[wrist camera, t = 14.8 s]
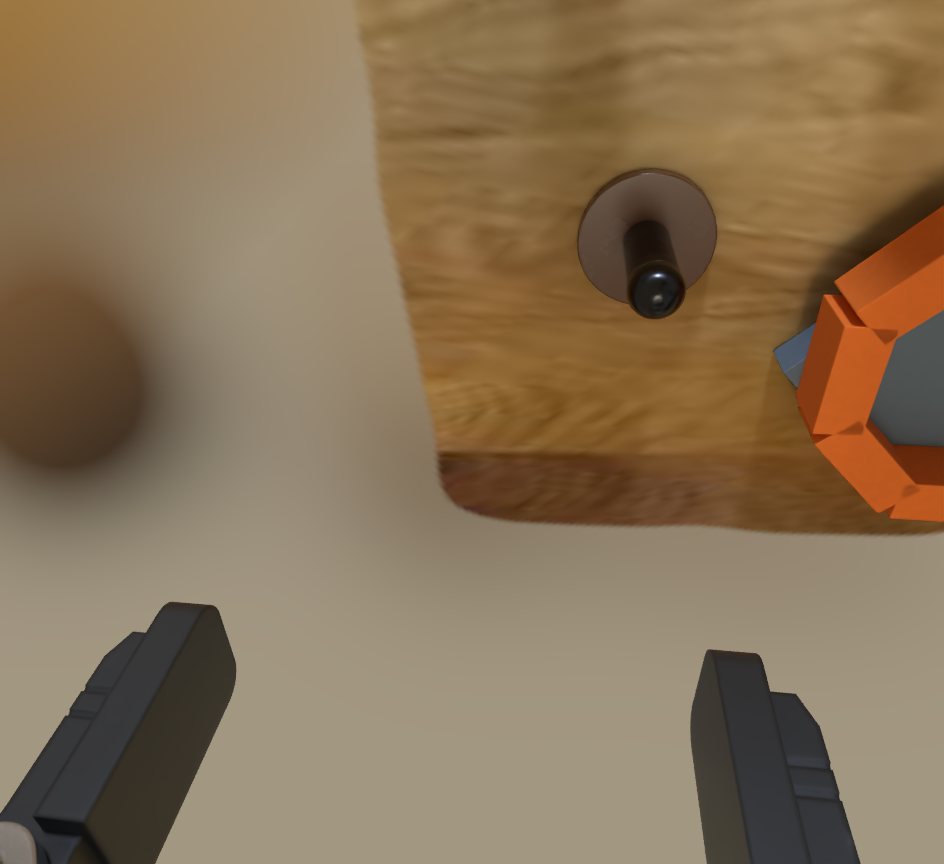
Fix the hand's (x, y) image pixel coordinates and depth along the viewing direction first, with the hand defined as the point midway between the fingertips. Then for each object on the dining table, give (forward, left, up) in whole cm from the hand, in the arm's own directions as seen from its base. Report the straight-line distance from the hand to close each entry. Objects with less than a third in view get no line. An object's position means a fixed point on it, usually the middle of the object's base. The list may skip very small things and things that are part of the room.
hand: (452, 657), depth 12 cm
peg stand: (-2, +6, -30) cm, 31 cm away
